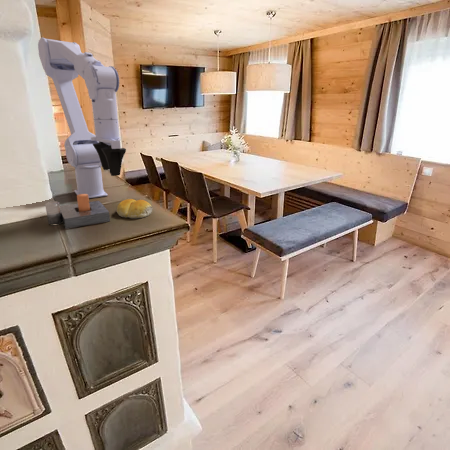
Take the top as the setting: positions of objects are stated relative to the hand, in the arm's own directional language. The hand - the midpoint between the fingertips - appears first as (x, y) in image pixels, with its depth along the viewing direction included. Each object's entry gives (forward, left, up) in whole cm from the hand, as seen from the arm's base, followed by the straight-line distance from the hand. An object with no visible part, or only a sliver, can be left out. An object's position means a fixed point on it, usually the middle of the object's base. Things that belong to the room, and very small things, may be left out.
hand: (111, 172), depth 83 cm
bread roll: (+7, +3, -10) cm, 13 cm away
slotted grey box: (+5, -10, -10) cm, 15 cm away
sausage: (+5, -9, -10) cm, 14 cm away
